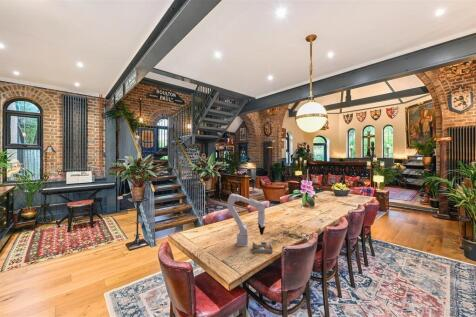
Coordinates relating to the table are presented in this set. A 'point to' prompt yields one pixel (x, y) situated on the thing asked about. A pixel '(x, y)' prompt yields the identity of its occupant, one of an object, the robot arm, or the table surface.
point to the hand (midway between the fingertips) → (261, 232)
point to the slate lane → (263, 249)
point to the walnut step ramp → (255, 246)
